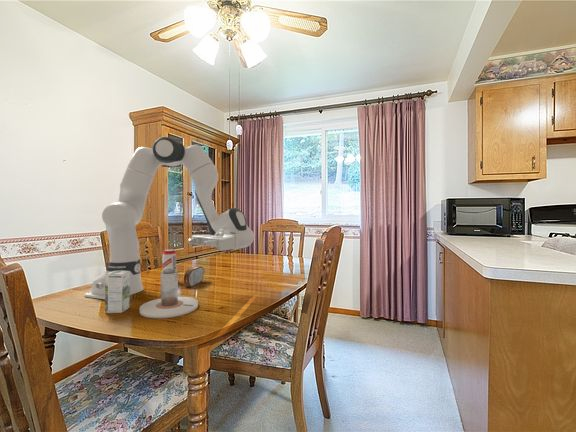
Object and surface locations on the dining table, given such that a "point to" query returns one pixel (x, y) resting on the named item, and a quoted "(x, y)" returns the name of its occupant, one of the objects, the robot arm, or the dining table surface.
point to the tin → (193, 276)
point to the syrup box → (117, 291)
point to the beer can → (169, 259)
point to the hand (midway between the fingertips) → (196, 242)
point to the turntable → (168, 308)
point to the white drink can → (169, 287)
